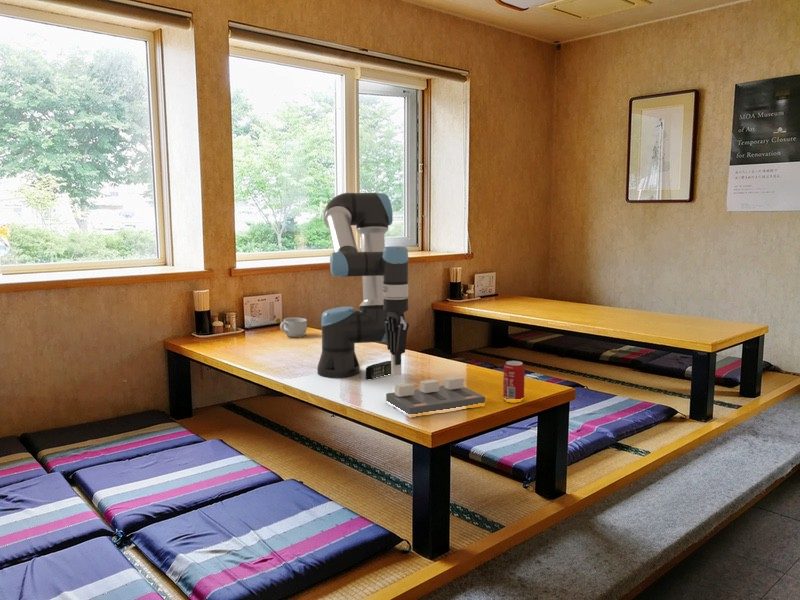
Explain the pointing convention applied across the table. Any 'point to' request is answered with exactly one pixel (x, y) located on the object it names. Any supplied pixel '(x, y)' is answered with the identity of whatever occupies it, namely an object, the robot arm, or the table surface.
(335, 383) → the table surface
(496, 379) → the table surface
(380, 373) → the mobile phone
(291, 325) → the teacup
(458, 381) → the tab
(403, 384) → the tab
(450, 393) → the switch plate
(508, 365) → the beverage can
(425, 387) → the tab
